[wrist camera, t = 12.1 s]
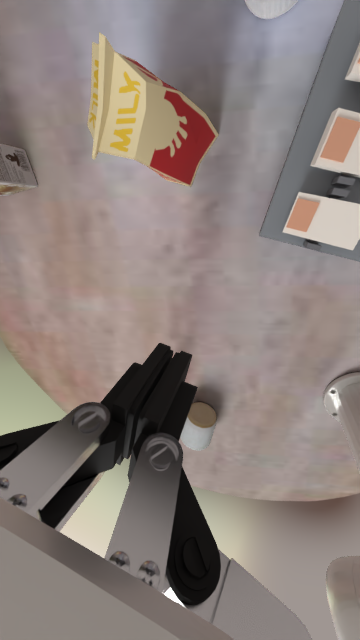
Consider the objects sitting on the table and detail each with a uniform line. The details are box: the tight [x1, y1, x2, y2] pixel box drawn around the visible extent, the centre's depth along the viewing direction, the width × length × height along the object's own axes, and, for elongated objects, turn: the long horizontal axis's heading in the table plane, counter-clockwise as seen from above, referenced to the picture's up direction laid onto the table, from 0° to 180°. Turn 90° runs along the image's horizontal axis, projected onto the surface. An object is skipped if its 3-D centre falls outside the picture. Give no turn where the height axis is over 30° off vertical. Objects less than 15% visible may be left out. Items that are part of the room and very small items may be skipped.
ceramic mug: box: [180, 402, 217, 450], centre depth 53 cm, size 11×8×8 cm
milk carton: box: [87, 32, 219, 187], centre depth 25 cm, size 9×9×20 cm
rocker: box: [283, 192, 360, 250], centre depth 26 cm, size 8×4×1 cm, turn 79°
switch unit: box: [259, 0, 360, 262], centre depth 25 cm, size 13×21×7 cm, turn 168°
